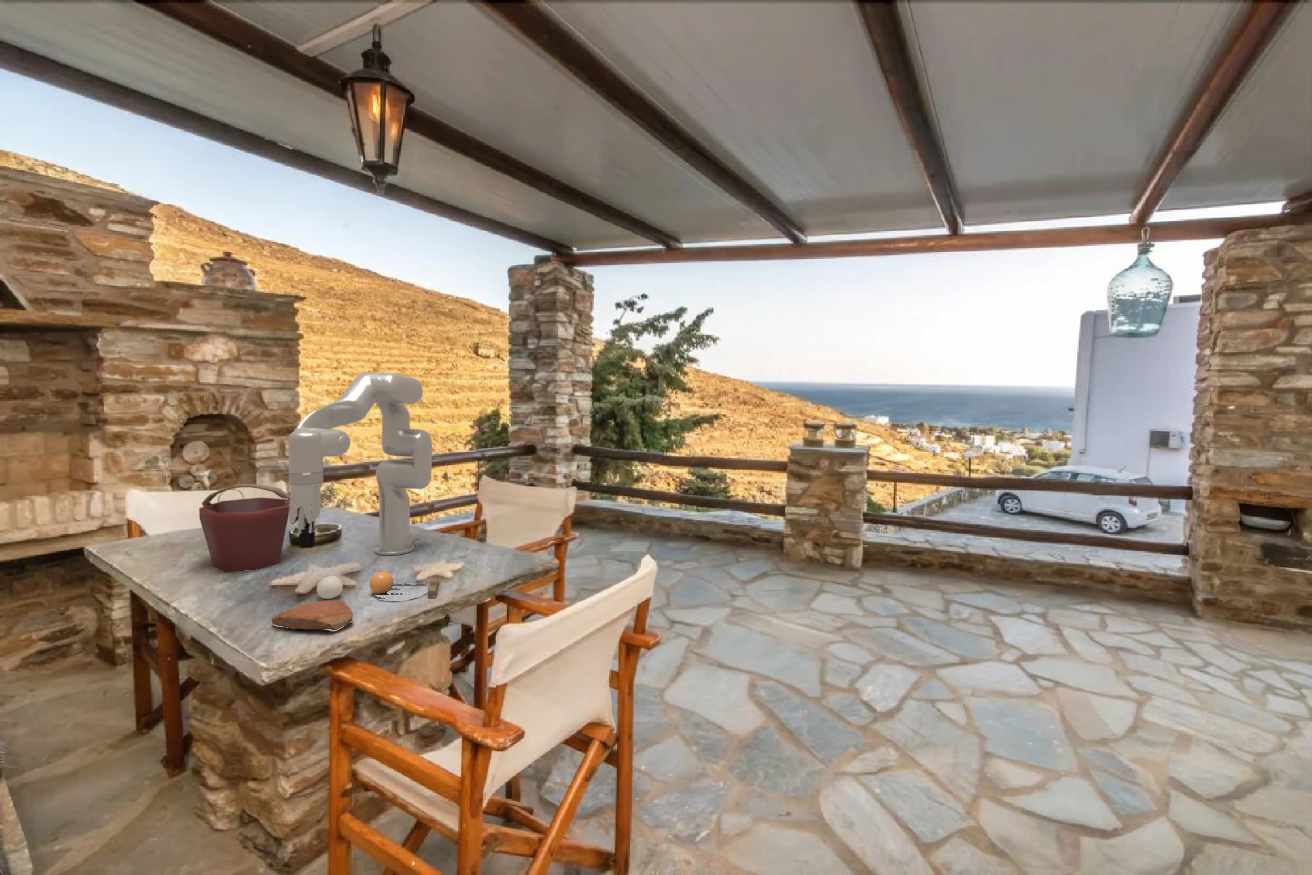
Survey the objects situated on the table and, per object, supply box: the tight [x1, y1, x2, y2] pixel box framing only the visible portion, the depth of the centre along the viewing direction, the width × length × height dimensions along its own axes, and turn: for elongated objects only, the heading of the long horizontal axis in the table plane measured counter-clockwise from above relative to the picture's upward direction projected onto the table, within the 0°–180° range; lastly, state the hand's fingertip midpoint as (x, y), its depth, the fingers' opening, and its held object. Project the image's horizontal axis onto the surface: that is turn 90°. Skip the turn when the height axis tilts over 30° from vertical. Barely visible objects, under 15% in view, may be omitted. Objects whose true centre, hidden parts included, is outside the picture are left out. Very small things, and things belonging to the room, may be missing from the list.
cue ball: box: [316, 575, 344, 600], centre depth 145 cm, size 6×6×6 cm
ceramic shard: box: [271, 599, 354, 630], centre depth 130 cm, size 15×6×15 cm
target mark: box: [373, 582, 428, 600], centre depth 152 cm, size 14×14×1 cm
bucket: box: [198, 483, 291, 573], centre depth 168 cm, size 24×22×25 cm
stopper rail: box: [427, 575, 440, 598], centre depth 154 cm, size 12×2×2 cm, turn 18°
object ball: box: [369, 571, 395, 594], centre depth 150 cm, size 6×6×6 cm
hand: (307, 546), depth 144 cm, fingers closed
